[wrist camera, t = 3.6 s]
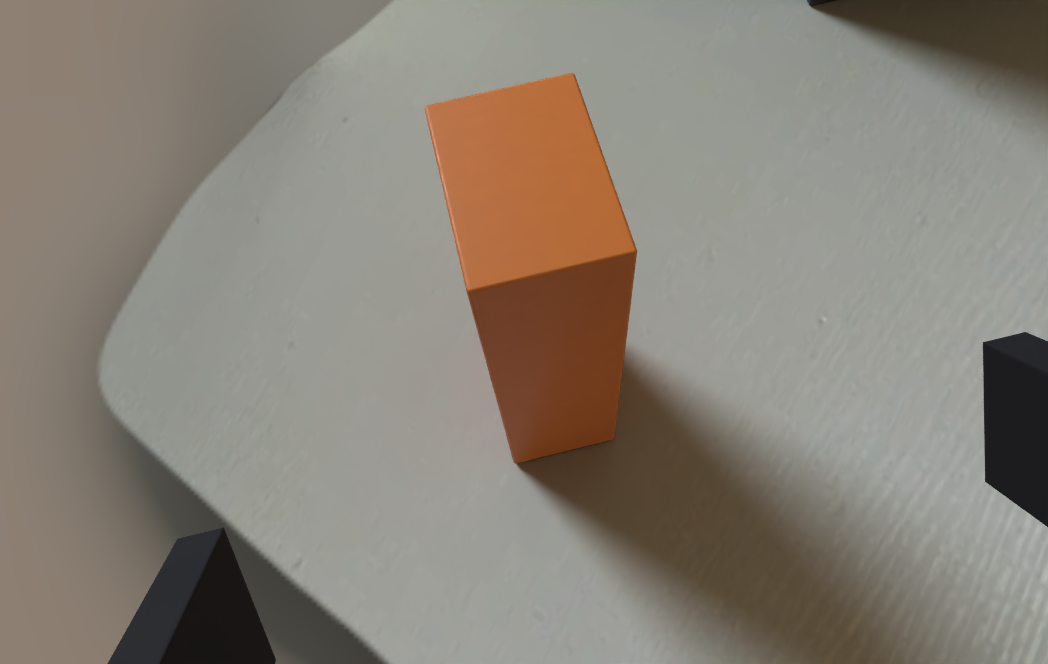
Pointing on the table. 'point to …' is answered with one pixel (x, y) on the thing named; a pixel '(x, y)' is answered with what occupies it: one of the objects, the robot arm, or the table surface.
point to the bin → (817, 1)
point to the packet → (539, 258)
